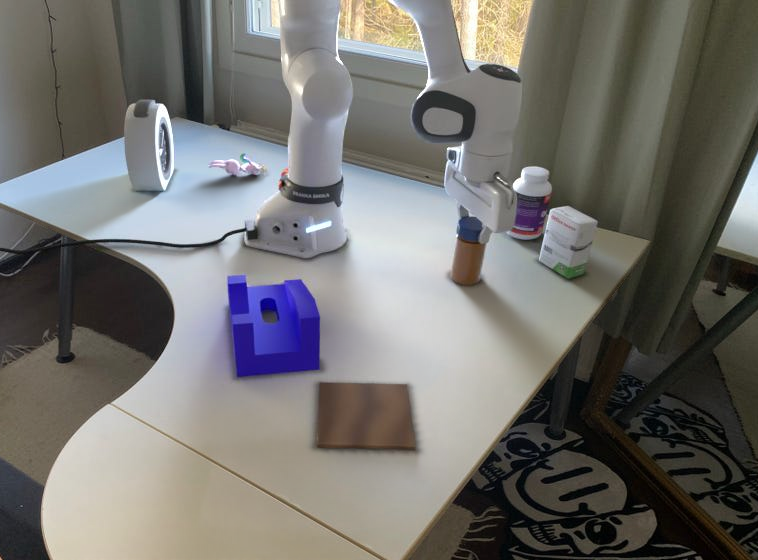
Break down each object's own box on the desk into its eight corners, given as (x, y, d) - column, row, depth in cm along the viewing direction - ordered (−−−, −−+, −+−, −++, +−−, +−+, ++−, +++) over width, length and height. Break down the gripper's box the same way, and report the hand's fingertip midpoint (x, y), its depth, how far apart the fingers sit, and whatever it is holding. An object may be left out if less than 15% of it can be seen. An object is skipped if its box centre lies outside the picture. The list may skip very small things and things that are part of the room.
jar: (450, 283, 132) (458, 233, 125) (450, 269, 136) (458, 219, 129) (480, 286, 131) (489, 235, 124) (479, 271, 135) (488, 222, 129)
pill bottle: (542, 243, 145) (557, 180, 136) (504, 240, 146) (517, 177, 137) (539, 227, 151) (554, 165, 142) (503, 223, 152) (515, 162, 144)
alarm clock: (161, 197, 164) (150, 116, 152) (131, 197, 164) (117, 115, 152) (176, 164, 181) (166, 89, 169) (148, 164, 181) (137, 88, 169)
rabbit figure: (263, 173, 179) (207, 167, 176) (266, 151, 176) (209, 145, 173) (265, 182, 175) (208, 176, 171) (268, 160, 171) (209, 154, 168)
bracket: (319, 369, 110) (320, 316, 104) (237, 377, 109) (232, 324, 102) (301, 301, 127) (300, 252, 120) (229, 307, 125) (225, 258, 119)
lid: (488, 229, 130) (490, 218, 128) (488, 243, 125) (490, 231, 123) (456, 225, 131) (458, 214, 129) (455, 239, 126) (457, 228, 124)
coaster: (317, 447, 96) (317, 444, 96) (319, 385, 107) (319, 382, 107) (414, 449, 95) (415, 446, 95) (406, 387, 107) (407, 384, 106)
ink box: (585, 274, 134) (601, 220, 127) (566, 279, 133) (581, 225, 125) (555, 255, 141) (568, 203, 133) (536, 260, 139) (549, 208, 132)
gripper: (532, 183, 112) (516, 255, 121) (472, 142, 127) (462, 209, 136) (499, 187, 111) (485, 261, 119) (442, 146, 126) (434, 213, 134)
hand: (472, 233), depth 128 cm, fingers closed on lid, 6 cm apart
